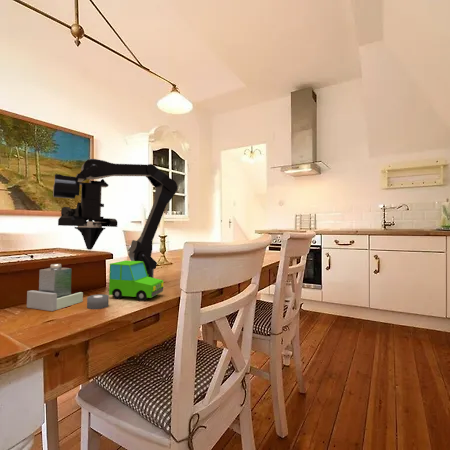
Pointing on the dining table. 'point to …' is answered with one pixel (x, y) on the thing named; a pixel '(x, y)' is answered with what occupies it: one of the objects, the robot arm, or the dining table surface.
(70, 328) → the dining table surface
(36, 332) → the dining table surface
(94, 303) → the spare wheel
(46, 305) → the bay
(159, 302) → the dining table surface
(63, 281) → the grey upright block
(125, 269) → the toy car
